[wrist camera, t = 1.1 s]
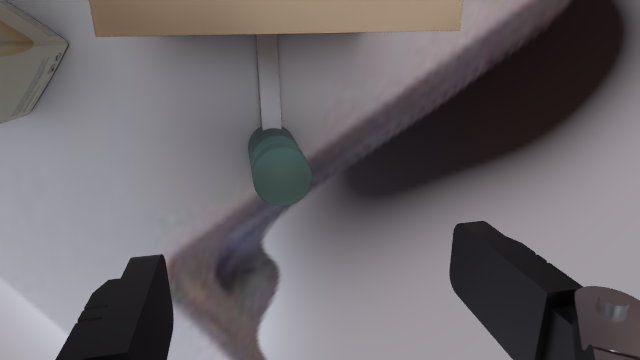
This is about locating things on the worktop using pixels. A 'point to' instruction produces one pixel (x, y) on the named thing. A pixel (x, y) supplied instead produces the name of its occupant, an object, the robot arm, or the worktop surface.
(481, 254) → the robot arm
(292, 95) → the worktop surface
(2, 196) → the worktop surface
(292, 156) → the mallet
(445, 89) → the worktop surface
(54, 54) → the skincare box
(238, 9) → the oak cubby
